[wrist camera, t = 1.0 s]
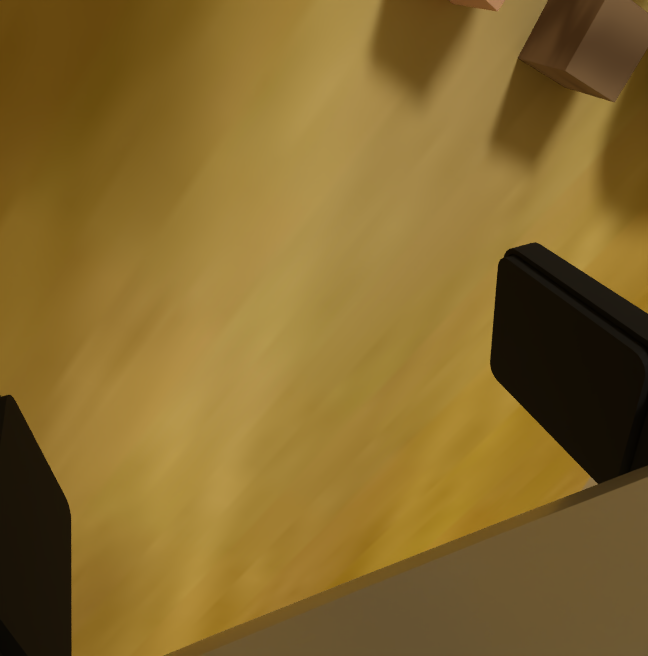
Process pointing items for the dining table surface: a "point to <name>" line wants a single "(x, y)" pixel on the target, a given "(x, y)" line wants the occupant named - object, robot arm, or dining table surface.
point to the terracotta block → (480, 4)
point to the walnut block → (588, 44)
